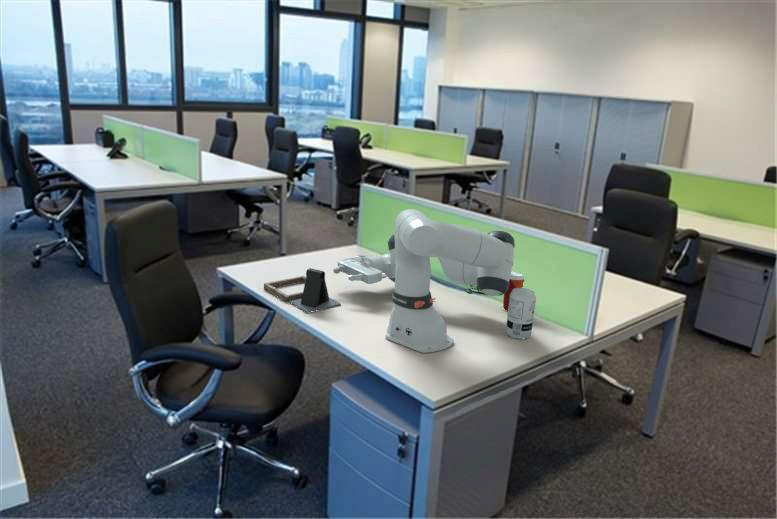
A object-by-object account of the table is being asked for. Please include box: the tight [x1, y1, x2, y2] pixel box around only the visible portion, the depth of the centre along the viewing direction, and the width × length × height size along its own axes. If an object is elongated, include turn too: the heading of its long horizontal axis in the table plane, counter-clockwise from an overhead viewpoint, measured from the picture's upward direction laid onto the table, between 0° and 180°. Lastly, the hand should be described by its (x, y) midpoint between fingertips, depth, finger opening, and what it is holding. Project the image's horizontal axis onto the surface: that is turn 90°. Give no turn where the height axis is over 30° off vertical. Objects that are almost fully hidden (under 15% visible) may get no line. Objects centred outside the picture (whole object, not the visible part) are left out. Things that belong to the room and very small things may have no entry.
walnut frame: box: [263, 275, 306, 303], centre depth 221 cm, size 16×17×2 cm
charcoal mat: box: [288, 297, 342, 314], centre depth 210 cm, size 12×14×1 cm
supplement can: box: [505, 287, 537, 340], centre depth 191 cm, size 8×8×15 cm
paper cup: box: [502, 271, 526, 312], centre depth 212 cm, size 8×8×14 cm
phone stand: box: [301, 267, 330, 307], centre depth 208 cm, size 9×6×12 cm, turn 151°
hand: (341, 274), depth 214 cm, fingers open, 8 cm apart
